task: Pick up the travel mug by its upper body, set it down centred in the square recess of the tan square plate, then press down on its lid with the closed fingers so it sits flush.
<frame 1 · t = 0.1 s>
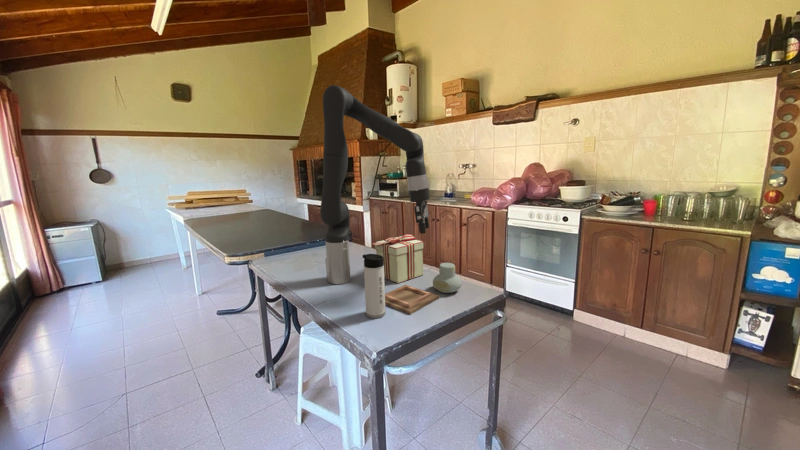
hand: (424, 230, 122), 22 cm above the table, tool pointing down, fingers open, 8 cm apart
travel mug: (375, 314, 105), on the table
air freshener: (447, 290, 123), on the table
gift box: (396, 275, 140), on the table
tan square plate: (407, 299, 115), on the table
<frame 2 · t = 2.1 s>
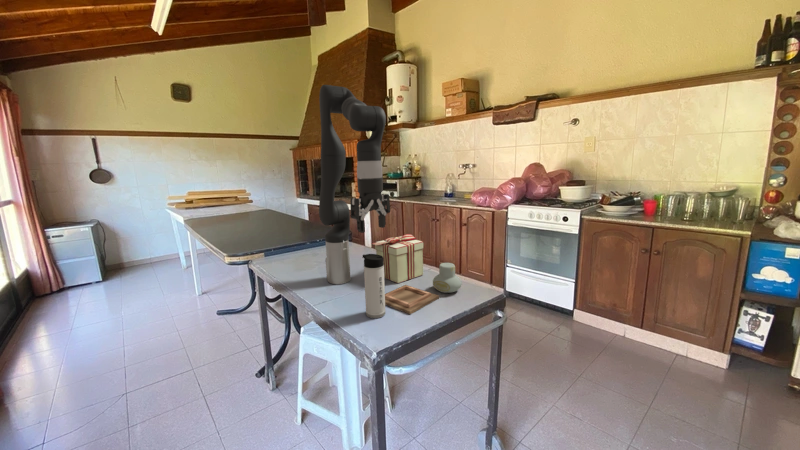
hand: (372, 229, 99), 28 cm above the table, tool pointing down, fingers open, 8 cm apart
nothing on the table moved.
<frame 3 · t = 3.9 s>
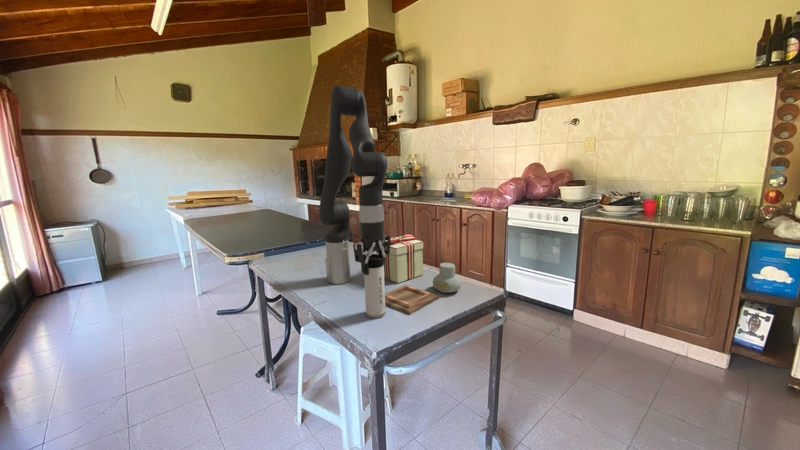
hand: (373, 271, 102), 15 cm above the table, tool pointing down, fingers closed on travel mug, 6 cm apart
travel mug: (375, 314, 105), on the table, touching gripper
everything else where it was.
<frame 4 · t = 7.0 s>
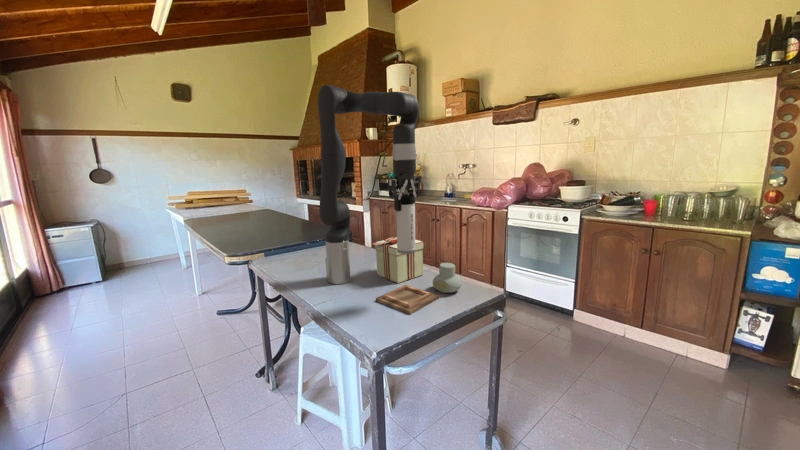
hand: (405, 209, 108), 33 cm above the table, tool pointing down, fingers closed on travel mug, 6 cm apart
travel mug: (405, 252, 111), point 18 cm above the table, touching gripper
everything else where it was.
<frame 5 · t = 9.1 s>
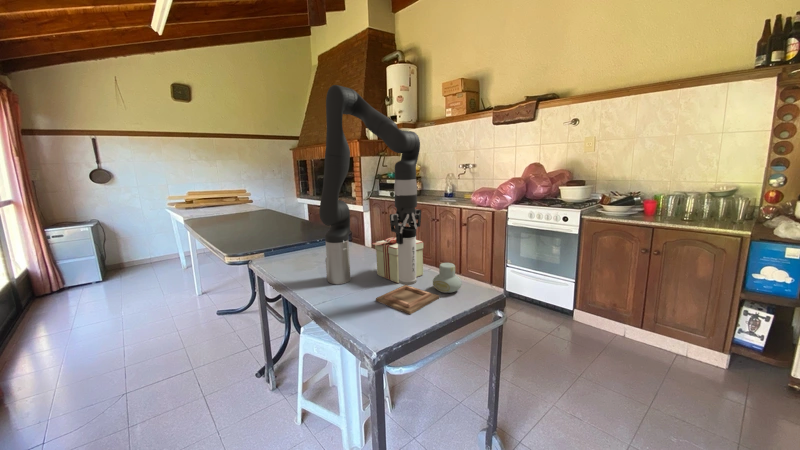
hand: (406, 241, 111), 21 cm above the table, tool pointing down, fingers closed on travel mug, 6 cm apart
travel mug: (407, 282, 114), point 6 cm above the table, touching gripper
everything else where it was.
when the fingers open (17 cm above the table, at t = 10.6 s): travel mug drops 1 cm, resting on tan square plate.
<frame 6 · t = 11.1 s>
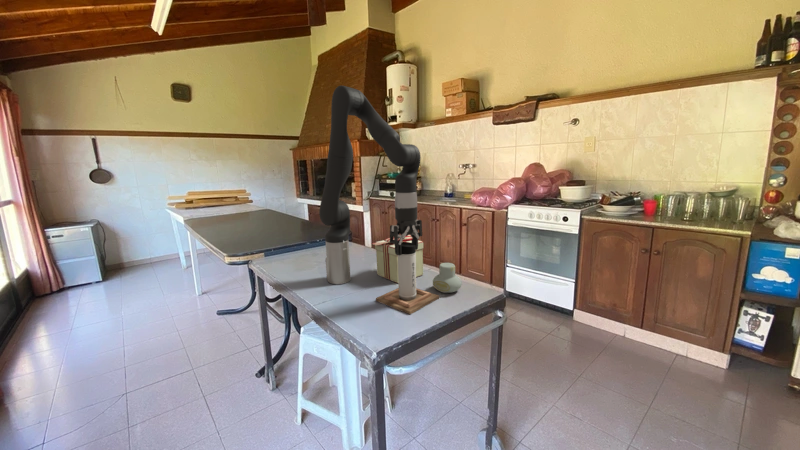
hand: (406, 252, 112), 18 cm above the table, tool pointing down, fingers open, 8 cm apart
travel mug: (407, 297, 115), point 1 cm above the table, touching tan square plate
everything else where it was.
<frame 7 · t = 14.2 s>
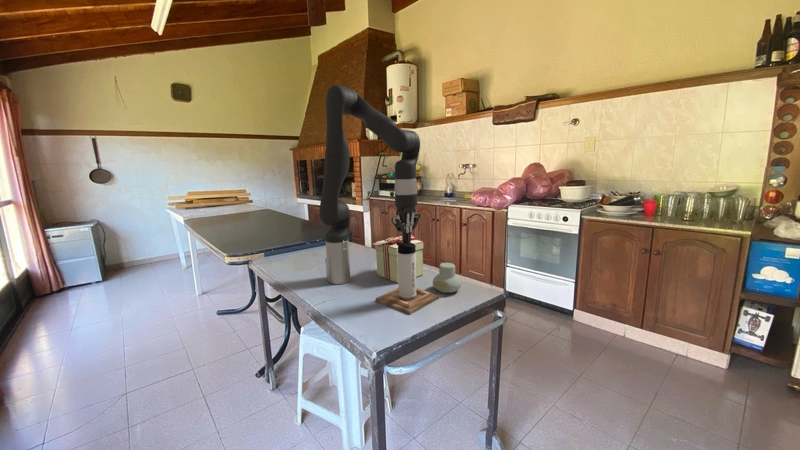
hand: (406, 242, 111), 21 cm above the table, tool pointing down, fingers closed
nothing on the table moved.
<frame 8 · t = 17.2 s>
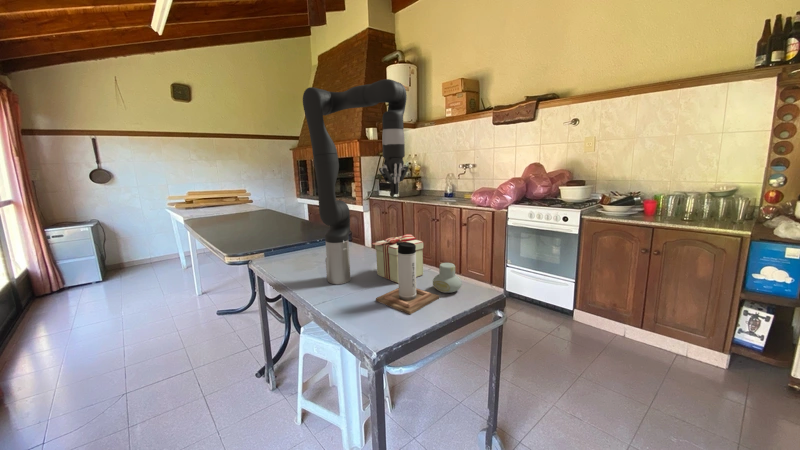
hand: (394, 194, 114), 37 cm above the table, tool pointing down, fingers closed
nothing on the table moved.
at the end: travel mug 0.2 cm off-centre on the tan square plate, point 0.8 cm above the tan square plate's base; travel mug tilted 0°; the gripper is holding nothing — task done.
